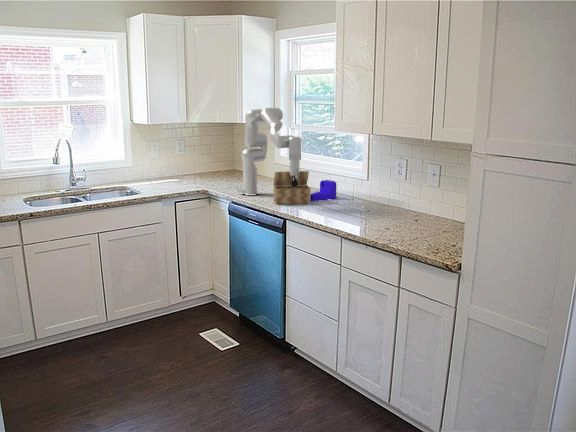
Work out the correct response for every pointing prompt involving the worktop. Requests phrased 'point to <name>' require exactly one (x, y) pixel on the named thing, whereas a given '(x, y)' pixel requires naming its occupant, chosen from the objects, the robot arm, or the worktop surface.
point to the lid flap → (289, 178)
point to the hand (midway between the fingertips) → (294, 186)
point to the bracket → (325, 191)
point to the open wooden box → (291, 194)
